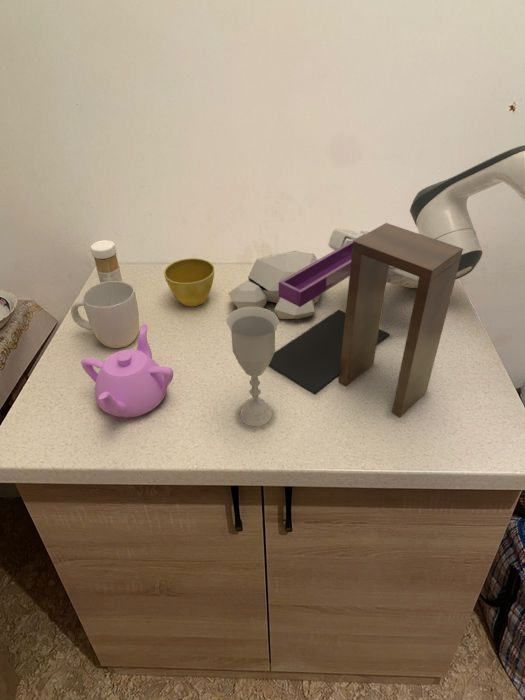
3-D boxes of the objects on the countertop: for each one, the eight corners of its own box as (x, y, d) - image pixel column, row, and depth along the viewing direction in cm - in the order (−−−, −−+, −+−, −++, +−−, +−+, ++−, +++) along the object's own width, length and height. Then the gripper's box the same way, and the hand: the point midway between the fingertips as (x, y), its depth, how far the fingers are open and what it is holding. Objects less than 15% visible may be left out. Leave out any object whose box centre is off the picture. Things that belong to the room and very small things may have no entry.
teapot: (153, 362, 90) (146, 322, 84) (184, 410, 80) (177, 368, 75) (87, 386, 85) (74, 344, 80) (111, 439, 76) (98, 397, 70)
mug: (149, 326, 98) (141, 282, 92) (133, 354, 91) (123, 309, 85) (88, 321, 100) (76, 277, 94) (68, 349, 93) (53, 303, 87)
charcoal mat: (338, 311, 101) (338, 309, 101) (389, 335, 95) (389, 333, 94) (262, 362, 89) (262, 360, 89) (314, 394, 83) (314, 392, 82)
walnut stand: (366, 360, 89) (386, 222, 73) (426, 392, 83) (463, 248, 66) (338, 382, 85) (353, 241, 69) (400, 418, 78) (432, 270, 62)
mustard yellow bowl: (162, 311, 102) (157, 281, 98) (176, 286, 110) (172, 256, 106) (210, 315, 101) (207, 284, 97) (221, 289, 109) (218, 259, 104)
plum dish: (362, 247, 90) (364, 233, 88) (383, 255, 87) (385, 241, 86) (278, 296, 78) (278, 281, 76) (299, 307, 75) (300, 292, 74)
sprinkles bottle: (121, 294, 108) (108, 237, 99) (131, 303, 105) (118, 245, 96) (101, 302, 105) (86, 244, 97) (111, 311, 103) (96, 252, 94)
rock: (326, 327, 97) (329, 284, 91) (224, 321, 99) (220, 279, 93) (327, 279, 111) (330, 239, 105) (238, 275, 113) (235, 235, 107)
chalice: (224, 414, 79) (215, 321, 68) (253, 392, 83) (250, 300, 72) (258, 438, 75) (255, 343, 64) (287, 413, 79) (289, 320, 68)
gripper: (436, 295, 92) (406, 289, 81) (345, 258, 103) (308, 248, 92) (451, 263, 90) (423, 251, 79) (357, 228, 101) (321, 214, 90)
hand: (360, 249), depth 85 cm, fingers closed on plum dish, 4 cm apart
